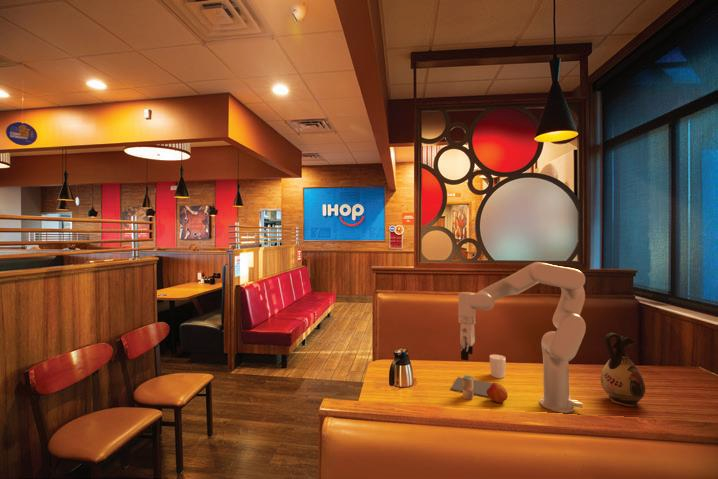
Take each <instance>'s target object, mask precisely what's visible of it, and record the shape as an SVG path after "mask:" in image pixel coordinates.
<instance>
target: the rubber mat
mask: <svg viewBox="0 0 718 479" xmlns="http://www.w3.org/2000/svg"><path fill="white" fill-rule="evenodd" d="M493 383H494V382H493ZM493 383H492V382H487V381H482V380H476V379H473V387H474V396H479V397H485V398H489V396H488V395H487V389H488V388H490V386H491V385H492V384H493ZM450 390H451V391H454V392H459V393H463V377H460V376H457V378H456V379H455V381H454V382H453V384H452V385H451V387H450ZM489 399H490V398H489Z"/></svg>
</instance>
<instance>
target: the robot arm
mask: <svg viewBox="0 0 718 479" xmlns="http://www.w3.org/2000/svg"><path fill="white" fill-rule="evenodd" d="M585 283H586V275H585V274H584V273H583V272H582V271H580V270H579V269H576V268H572V267H568V266H567V267H565V266H560V265H559V266H558V265H555V264H554V265H553V264H550V263H546V262H540V261H534V262H532V263H530V264H528V265H526V266H525V267H523V268H521V269H519V270H517V271H516V272H515V273H512V274H510V275H509V276H507V277H504V278H502V279H499V280H498V281H496V282H494V283H492V284H490V285H488V286H486V287H484V288H482V289H481V290H479V291H477V292H476V293H474V292H471V291H461V292H459V293H458V311H457V312H458V323H459V324H460V326H459V327H460V329H459V330H460V331H459V333H460V334H459V342H460V345H461V347H460V359H461V360H462V361H466V362H468V361H469V360H470V359H469V357H470V356H469V355H473V351H474V349H473V347H474V346H473V345H474V344H475V342H476V337H475V335H476V334H475V333H476V332H475V325H476V323H477V321H476V318H477V317H476V315H477V314H476V313H477V312H476V310H481V311H490V310H491V309H493V308H494V307H495V302H496V301H497V300H500V299H502V298H505V297H507V296H514V295H516V296H517V295H519V294H521V293H523V292H525V291H526V290H528V289H530V288H532V287H533V286H535V285H537V284H543V285H547V286H552V287H558V288H560V290H561V291H560V292H561V294H560V298H559V301H558V304H557V307H556V308H555V311H554V313H553V317H552V323H553V326H554V327H555V328H556V331H555V330H554V331H553V330H551V331H547V332H546V333H544V334H543V336H542V338H541V352H542V361H543V362H542V365H543V366H542V367H543V368H542V369H543V370H542V371H543V372H542V373H543V374H542V375H543V380H542V381H543V397H541V398H540V399H539V404H540V405H541V407H542V408H545V409H546V410H549V411H552V412H554V413H560V414H570V413H573V412H574V410H575V408H576V407H577V408H581V409H583V408H584V407H583V405H584V404H583V402H579V400H576V399H572V398H571V395H570V365H569V362H571V361H572V360H573V359H574V358H575V357H576V355H577V353H578V351H579V349H580V346H581V344H582V341H583V339H584V336H585V334H586V329H587V328H586V327H587V325H586V322H585V320H584V318H583V317H582V316H581V313H582V310H583V307H584V304H585V301H586V292H585V288H584V285H585Z"/></svg>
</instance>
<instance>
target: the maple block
mask: <svg viewBox="0 0 718 479" xmlns="http://www.w3.org/2000/svg"><path fill="white" fill-rule="evenodd" d="M462 378H463V392H462V399H465V400H470V401H473V399H474V396H475V395H474V387H473V380H474V376H470V375H466V374H465V375H463V377H462Z"/></svg>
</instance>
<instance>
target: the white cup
mask: <svg viewBox="0 0 718 479" xmlns="http://www.w3.org/2000/svg"><path fill="white" fill-rule="evenodd" d="M506 358H507V357H506V356H504V355H500V354H490V355H489V366H490V367H489V369H490V376H491V377H493V378H496V379H504V378H505V377H506V374H505V373H506V362H507V361H506Z"/></svg>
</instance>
